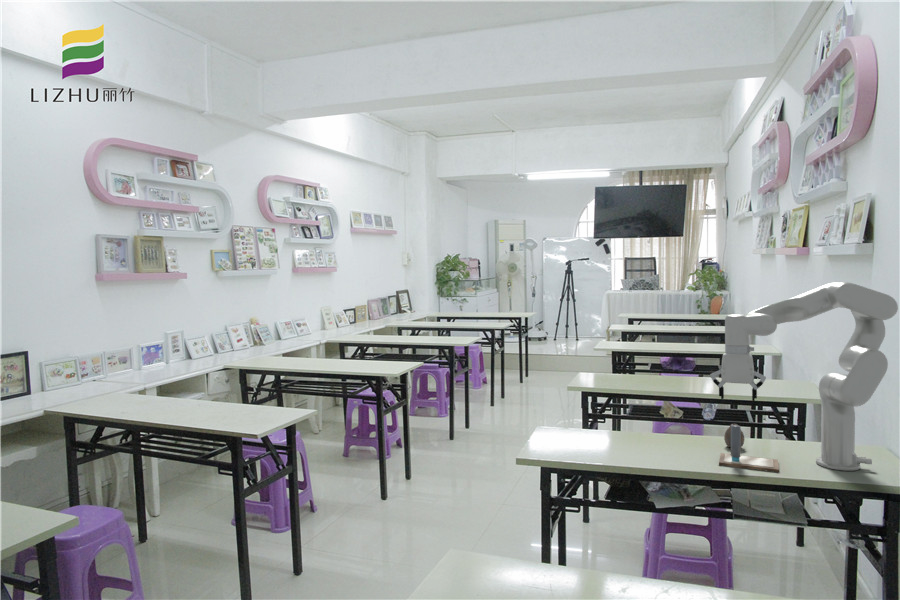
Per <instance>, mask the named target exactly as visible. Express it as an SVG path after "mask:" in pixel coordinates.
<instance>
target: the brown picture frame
mask: <svg viewBox="0 0 900 600" xmlns="http://www.w3.org/2000/svg"><path fill="white" fill-rule="evenodd" d="M722 465H725V466H724V467H730V466H733V467H732V468H738V467H739V469H746V468H749V469H748V470H754V469H758V470H757V471H762V470H767V471H766V472H770V471H774V472H773V473H778V472H780V467H779V459H778V458H777V459H774V458H769V457H767V458H765V457H757V456H749V455H741V454H740V457H739V461H738V462H736V461H732V456H731V453H724V452H723V453H722V452H720V455H719V460H718V466H722Z"/></svg>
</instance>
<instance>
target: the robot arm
mask: <svg viewBox="0 0 900 600" xmlns="http://www.w3.org/2000/svg"><path fill="white" fill-rule="evenodd" d="M838 308H843V309H848V310H850V312H851V314H852V316H853V318H854V321H855V328H854V331H853V333H852V335H851V336H850V338H849V340H848V341H847V344H845V346H844V348H843V350H842V351H841V353H840V355H839V357H838V365H839V366H840V368H841V369H843V370H844V371H846V372H848V373H847V374H845V373H841V372H829V373H827V374H825V375H824V376H822V378H821V379H820V381H819V382H818V393H819V398H820V405H821V419H820V420H821V421H820V422H821V428H820V429H821V430H820V431H821V432H820V433H821V436H820V437H821V438H820V440H821V445H820V446H821V447H820V449H821V450H820V452H821V453H820V456H819V457H816V458H815V464H817V465H818V466H821V467H824V468H827V469H832V470H837V471H846V472H847V471H848V472H849V471H858V470H860V469H861V464H864V465H870V466H871V465H872V464H873V459H872V458H868V457H866V456H859V455H857V454H856V452H855V451H856V450H855V449H856V448H855V446H856V445H855V441H856V436H855V435H856V431H855V430H856V412H855V408H857V407H861V406H864V405H865V404H867V402H868V401H870V399H871V398H872V397H873V395H874V393H875V391H876V390H877V388H878V387H879V385H880V384H881V382H882V380H883V378H884V377H885V375H886V373H887V371H888V366H889V363H888V359H887V357H886V355H885V354H884V352H882V351H881V350H879V349H880V347H881V345H882V344H883V342H884V340H885V337H886V325H885V322H884V321H886V320H889V319H892V318H893V317H894V316H895V315H896V314H897V312H898V309H899V305H898V302H897V300H896V299H895V298H894V297H892V296H891V295H890V294H886V293H885V292H880V291H877V290H874V289H871V288H869V287H866V286H862V285H859V284H856V283H852V282H848V281H847V282H840V281H839V282H836V281H835V282H830V283H826V284H823V285H821V286H818V287H816V288H814V289H811V290H809V291H806V292H804V293H801V294H799V295H795V296H793V297H791V298H787V299H784V300H780V301H778V302H775V303H771V304H767V305H764V306H763V307H760V308H758V309H755V310H752V311H750V312H748V313H746V314H737V313H736V314H726V316H725V318H724V353H723V354H722V358H721V369H719V370H717V371H714V372H712V373H710V374H709V377H710V378H711V380H712V382H713V383H714V384H715V385H716V386H717V387H718V397H720V398H721V400H724V399H725V396H724V395H725V393H724V391H725V390H724V385H725V384H726V383H727V384H745V385H747V384H748V385H749V386H751V387H752V388H751V397H752V399H751V400H752V402H755V399H757V398H758V391H757V390H758V389H759V388H761V386H763V384H764V382H765V381H766V380H767V377H766V375H763V374H762V373H760V372H757V371H755V367H754V365H755V363H754V358H753V355H752V352H755V347H752V346H750V336H760V337H766V336H767V337H768V336H771V335H772V334H774V333H775V331H777V327H778V325H780V324H786V323H791V322H792V323H793V322H801V321H805V320H809V319H813V318H815V317H816V316H819V315H822V314H823V313H824V314H825V313H826V312H829V311H831V310H834V309H838ZM720 375H721V376H720ZM717 376H720V378H721V381H719V380H718V379H717ZM755 377H757V378H759V381H758V382H757V383H756V382H755V381H754V380H755Z"/></svg>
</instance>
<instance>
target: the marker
mask: <svg viewBox="0 0 900 600" xmlns="http://www.w3.org/2000/svg"><path fill="white" fill-rule="evenodd" d="M730 425H731V424H730ZM741 431H742V429H741V425H738V424H737V425H731V448H730V454H731V456H732V461H736V462H738V461H739V457H740V455H741V448H740V438H741Z"/></svg>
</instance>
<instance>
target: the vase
mask: <svg viewBox="0 0 900 600" xmlns="http://www.w3.org/2000/svg"><path fill="white" fill-rule="evenodd" d="M731 425H738V424H737V423H731V424H730V426H729V427H727V429H726V430H725V432H724V437H723V438H724V443H725V445H726V446H727V448H729V447H731ZM744 443H745V435H744V432H743V431H742V430H741V438H740V449H742V447H743V445H744Z"/></svg>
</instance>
